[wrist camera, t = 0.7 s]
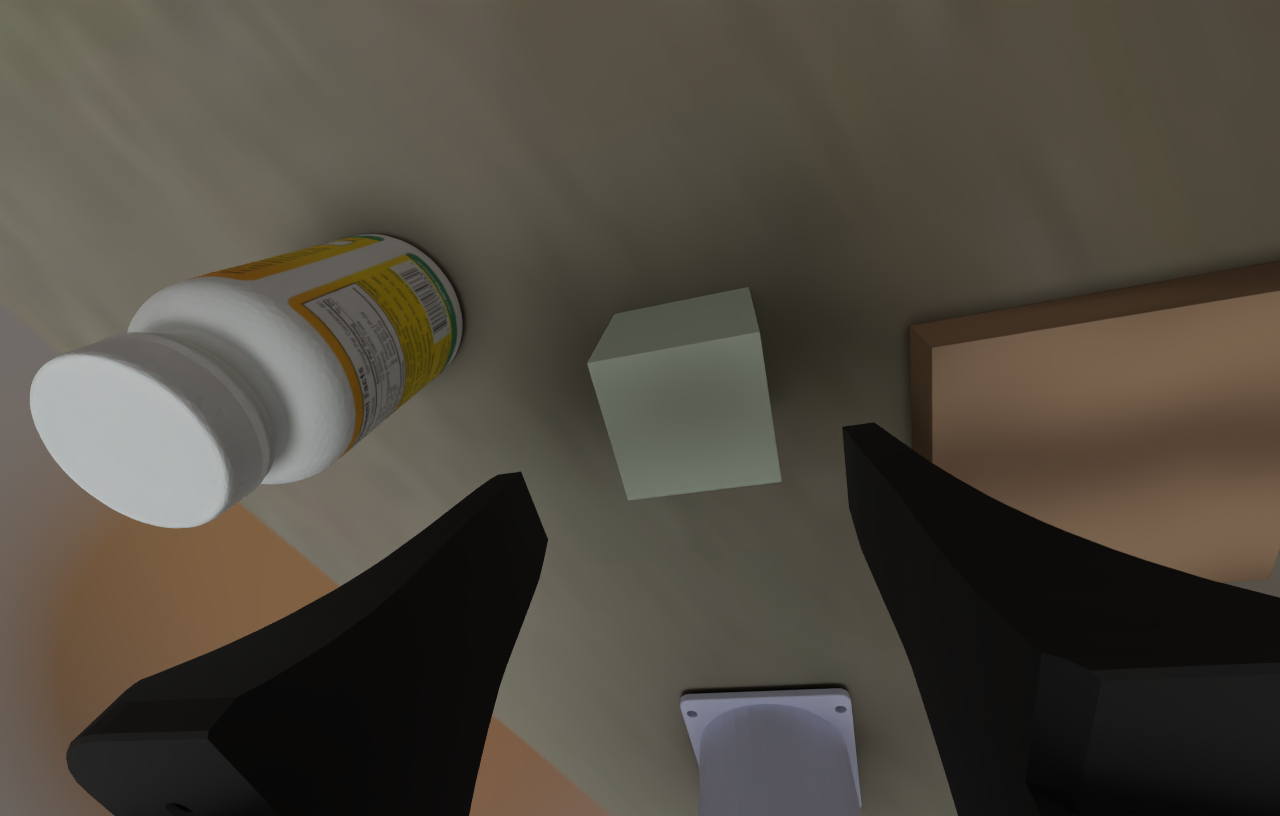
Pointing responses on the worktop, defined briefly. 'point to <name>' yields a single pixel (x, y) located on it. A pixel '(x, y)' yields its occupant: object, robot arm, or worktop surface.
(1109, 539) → the brown square pad
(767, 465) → the sage block
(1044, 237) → the worktop surface
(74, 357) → the supplement bottle
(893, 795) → the worktop surface
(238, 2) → the worktop surface
